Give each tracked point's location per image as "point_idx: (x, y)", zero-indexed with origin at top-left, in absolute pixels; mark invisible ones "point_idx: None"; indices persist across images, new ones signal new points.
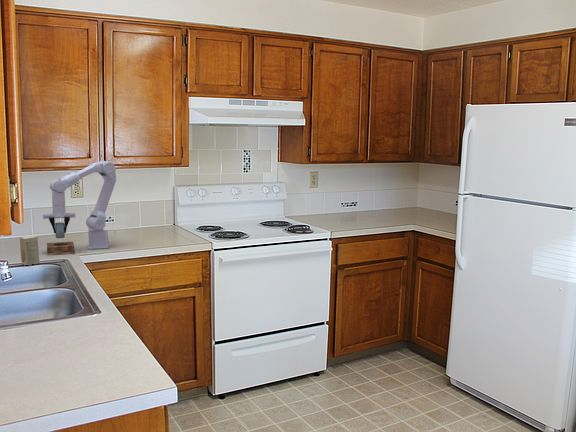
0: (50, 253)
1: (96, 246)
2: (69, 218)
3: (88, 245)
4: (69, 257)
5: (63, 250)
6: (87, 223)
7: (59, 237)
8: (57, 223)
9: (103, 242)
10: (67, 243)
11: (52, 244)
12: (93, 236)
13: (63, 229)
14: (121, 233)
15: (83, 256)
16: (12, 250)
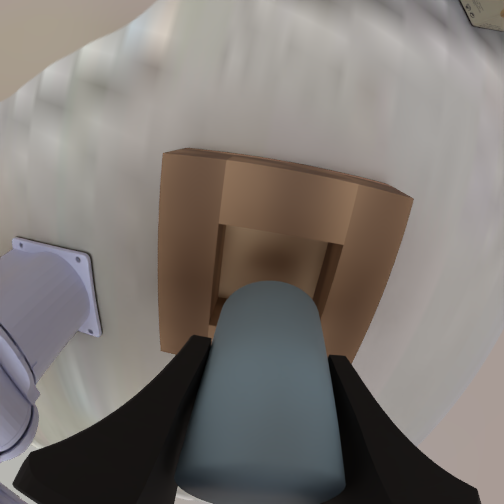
0: (370, 180)
1: (48, 255)
2: (25, 495)
3: (96, 334)
4: (250, 25)
5: (269, 161)
6: (18, 421)
7: (289, 288)
8: (311, 484)
9: (10, 264)
10: (206, 299)
11: (332, 312)
12: (17, 295)
13: (215, 368)
14: (51, 432)
15: (151, 27)
16: (447, 388)
